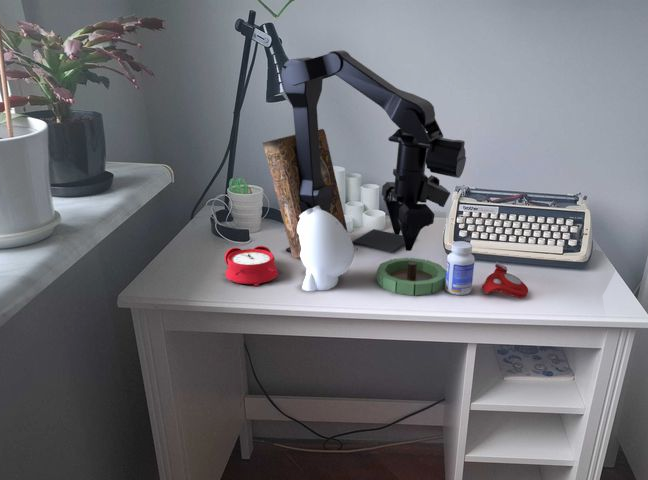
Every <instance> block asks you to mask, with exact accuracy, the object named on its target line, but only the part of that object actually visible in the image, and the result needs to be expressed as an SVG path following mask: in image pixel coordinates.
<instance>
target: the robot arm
mask: <svg viewBox="0 0 648 480" xmlns="http://www.w3.org/2000/svg"><path fill="white" fill-rule="evenodd" d="M280 75H281V76H280V77H281V81H282V85H283V88H284V89H283V90H284V94H285V96H286V97H287V99H288V101H289V103H290V105H291V108H292V112H293V113H292V115H293V123H294V135H295V138H296V150H297V162H298V174H299V179H300V182H299V197H300V201H301V202H300V203H299V206H300V210H301V214H302V213H303V212H304V211H306V210H308V209H310V208H314V207H316V206H319V207H320V208H321V210H323V211H326V212H328V211H329V210H330V208H331V204H332V203H333V199H332V185H326V184H325V182H324V181H323V179H322V176H321V163H320V148H319V133H318V130H319V121H318V120H319V119H318V104H319V101H320V97H321V95H322V92H323V81H324V79H325V80H326V79H329V78H332V77H333V76H337V77H338V78H339V79H340V80H342V81H344V82H345V83H347V84H348V85H349V86H350V87H352V88H353V89H354V90H356V91H357V92H359V93H361V94H362V95H363V96H365V97H366V98H368V99H369V100H370V101H372V102H373V103H375V104H376V105H378V106H379V107H381V109H383V110H384V111H385V112H386V114H387V116H388V117H389V119H390V120H391V121H392V122H393V123H394V124H395V125H396V127H398V129H397V130H395V132H394V133H393V134H392V135H390V136H388V141H389V142H392V143H396V144H397V143H398V146H397V155H396V156H397V157H396V166H395V168H393V169H392V175H393V176H394V181H386V182H385V183H384V184H383V185H382V186H381V187H382V188H381V196H382V197H383V198H382V199H383V202H384V204H385V205H384V206H385V208H386V211H387V214H388V217H389V220H390V224H391V227H392V230H393V233H394V234H399V235H402V237H403V241H404V245H405V246H404V249H405V251H406V252H410V251H412V250H413V247H414V245H415V243H416V241H417V238H418V236H419V235H420V232H421V230H422V229H424V228H426V227H429V226H430V225H433V224H434V222H435V215H436V214H435V213H434V211H433V210H432V209H431V208H430V207H429V205H428V204H426V203H427V201H429V202H431V203H434V204H436V205H438V206H439V207H441V208H444V207H445V206H446V204H447V202H448V199H449V197H450V195H451V191H450V190H448V189H447V188H446V187H445V186H443V185H442V184H440V179H439V178H438V177H437V176H434V175H433V174H437V175H441V176H447V177H452V178H455V179H460V178H461V176H462V174H463V172H464V170H465V167H466V162H467V156H466V148H465V143H466V142H465V140H462V139H451V138H447V137H444V134H443V131H442V129H441V127H440V125H439V124H438V121H437V119H436V112H435V106H434V105H433V104H432V103H431V102H430V101H429V100H428V99H425V98H423V97H421V96H419V95H417V94H414V93H411V92H408V91H404V90H402V89H399V88H398V87H396V86H395V85H393V84H391V83H390V82H389V81H387V80H386V79H384V78H383V77H381V76H380V75H379V74H378V73H376V72H374V71H373V70H371V69H370V68H369V67H367V66H366V65H364V64H363V63H362V62H360V61H358V60H357V59H355V58H354V57H353V56H351V54H350V53H349V52H348V51H346V50H332V51H330V52H328V53H326V54H323V55H319V56H316V57H308V56H307V57H299V58H291V59H288V60H287V61H285V63H284V64H283V65H282V67H281V70H280ZM426 169H428V170H429V172H430V173H433V174H431V175H430V176H427V175H426ZM285 251H286V252H287V253H291V249H290V246H289V247H287V248H285Z"/></svg>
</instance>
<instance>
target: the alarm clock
mask: <svg viewBox="0 0 648 480" xmlns="http://www.w3.org/2000/svg"><path fill="white" fill-rule="evenodd" d="M275 259H276V258H275V256H274V254H273V253H272V251H271V249H270V248H269V247H266V246H264V245H257V246H255V247H254V248H246V249H241V248H239V247H231V248H229V249H228V250H227V251H226V252H225V254H224V262H225V264H226V265H227V268H226V271H225V277H226V279H227V280H229V281H230V282H233V283H236V284H245V285H253V287H260V284H263V283H268V282H271V281H273V280H274V279H275V280H276V278H277V277H278V276H279V270H278V268H277V266H276V263H275Z"/></svg>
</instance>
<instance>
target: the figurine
mask: <svg viewBox="0 0 648 480" xmlns="http://www.w3.org/2000/svg"><path fill="white" fill-rule="evenodd" d="M299 217H300V220H299V222H298V226H297V233H298V234H299V239H300V244H301V252H300V257H301V259H300V260H301V262H302V265H304V267H305V278H304V280H303V281H302V286H301V289H302V290H303V291H306V292H314V291H327V290H331V289H333V288H334V287H336V286H337V285H338V282H339V277H340V276H341V275H343V274H345V273H346V271H348V270H349V268H350V266H351V265H352V263H353V260H354V256H355V248H354V244H353V243H352V241H353V240H352V238H351V237H350V234H349V232H347V231H348V230H347V231H346V230H345V229H344V227H343V225H342V224H341V223H340V222H339V221H338V220H337V219H336V218H335V217H334V216H333V215H331V214H330V213H328V212H326V211H323V210H321V208H320V207H319V206H316V207H314V208H310V209H308V210H306V211H304V212H303V213H302V214H301V215H300V216H299Z"/></svg>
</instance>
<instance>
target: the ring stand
mask: <svg viewBox="0 0 648 480" xmlns="http://www.w3.org/2000/svg"><path fill="white" fill-rule="evenodd" d="M416 268H417V263H416V262H408V269H405V270H398V271H395V272H393V273H391V274H390V275H389V276H392V277H395V278H397V279H400V280H407V281H424V280H430V279H432V278H434V277H433V276H432V275H430V274H429V273H426V272H424V271H420V270H416Z"/></svg>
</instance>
